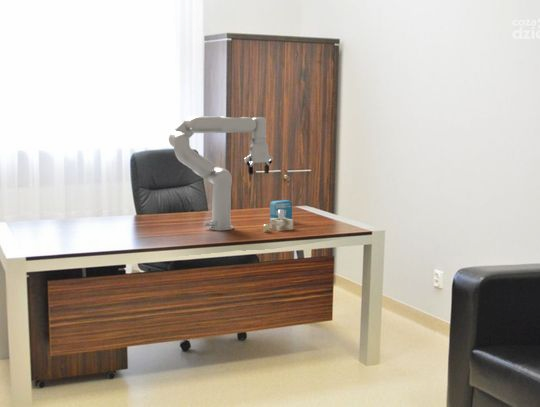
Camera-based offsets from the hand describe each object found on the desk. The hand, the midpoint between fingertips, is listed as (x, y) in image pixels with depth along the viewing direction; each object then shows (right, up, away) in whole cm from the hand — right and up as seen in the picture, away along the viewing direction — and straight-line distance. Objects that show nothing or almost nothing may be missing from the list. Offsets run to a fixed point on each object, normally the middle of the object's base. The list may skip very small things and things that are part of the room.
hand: (258, 173), depth 379 cm
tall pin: (+12, -29, -1) cm, 31 cm away
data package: (+12, -26, +17) cm, 34 cm away
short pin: (+4, -30, -10) cm, 32 cm away
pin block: (+12, -29, -1) cm, 31 cm away
